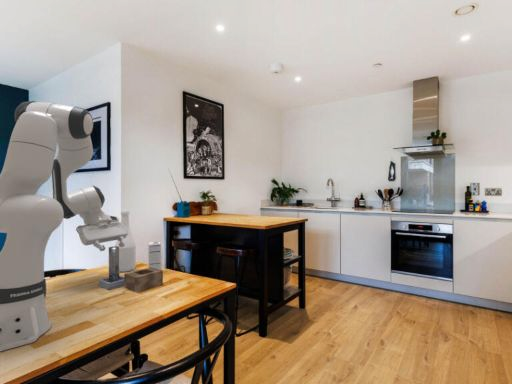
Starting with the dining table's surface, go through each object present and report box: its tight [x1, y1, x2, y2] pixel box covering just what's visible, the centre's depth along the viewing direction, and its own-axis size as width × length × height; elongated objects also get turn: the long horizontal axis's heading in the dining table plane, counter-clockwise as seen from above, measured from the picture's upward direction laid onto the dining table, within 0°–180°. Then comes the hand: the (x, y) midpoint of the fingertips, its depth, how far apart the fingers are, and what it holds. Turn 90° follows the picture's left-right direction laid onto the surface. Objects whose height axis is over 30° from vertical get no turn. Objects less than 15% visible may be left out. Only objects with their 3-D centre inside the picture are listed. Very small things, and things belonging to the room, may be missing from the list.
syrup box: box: [147, 241, 162, 270], centre depth 145 cm, size 6×6×14 cm
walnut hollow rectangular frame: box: [123, 266, 164, 293], centre depth 124 cm, size 12×9×6 cm
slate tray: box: [97, 274, 124, 291], centre depth 126 cm, size 9×9×2 cm
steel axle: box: [108, 245, 120, 283], centre depth 126 cm, size 4×4×15 cm
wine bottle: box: [114, 209, 137, 273], centre depth 149 cm, size 10×10×30 cm
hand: (113, 247), depth 126 cm, fingers open, 8 cm apart
